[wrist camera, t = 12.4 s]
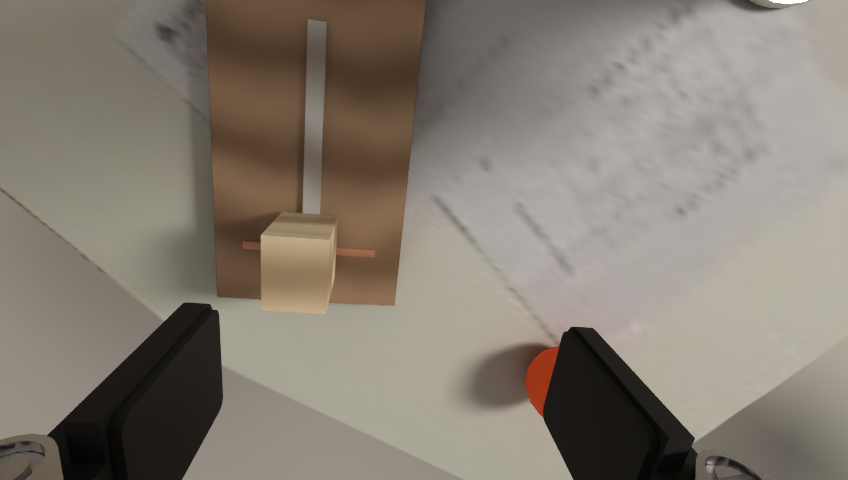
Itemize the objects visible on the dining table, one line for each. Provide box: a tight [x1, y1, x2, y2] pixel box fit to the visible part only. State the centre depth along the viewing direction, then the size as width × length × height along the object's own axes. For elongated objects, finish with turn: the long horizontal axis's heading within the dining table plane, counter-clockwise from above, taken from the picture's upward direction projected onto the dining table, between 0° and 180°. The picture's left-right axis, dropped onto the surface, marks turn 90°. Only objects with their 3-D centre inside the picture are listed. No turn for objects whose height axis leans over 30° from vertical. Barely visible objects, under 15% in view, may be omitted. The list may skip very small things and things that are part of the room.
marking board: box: [206, 0, 426, 306], centre depth 29 cm, size 24×14×2 cm, turn 174°
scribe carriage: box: [261, 212, 338, 314], centre depth 27 cm, size 6×4×6 cm
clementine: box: [526, 347, 559, 416], centre depth 36 cm, size 8×7×7 cm
